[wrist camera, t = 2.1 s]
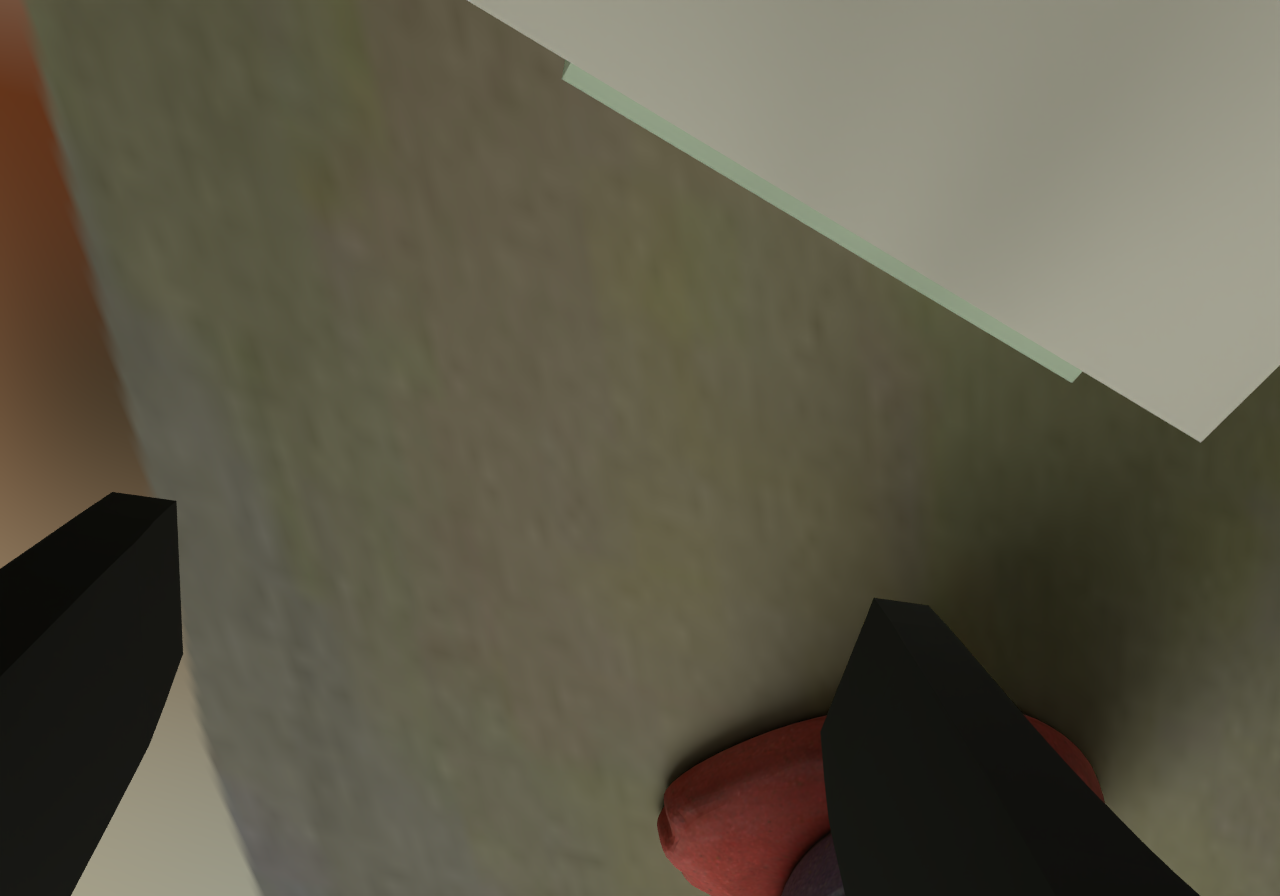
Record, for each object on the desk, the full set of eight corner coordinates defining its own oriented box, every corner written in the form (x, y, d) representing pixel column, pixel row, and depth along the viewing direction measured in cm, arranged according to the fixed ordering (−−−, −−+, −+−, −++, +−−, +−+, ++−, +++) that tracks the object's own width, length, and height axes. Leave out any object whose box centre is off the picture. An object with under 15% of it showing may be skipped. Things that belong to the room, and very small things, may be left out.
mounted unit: (1352, -10, 17) (1669, 83, 12) (1049, 335, 20) (1198, 525, 15) (649, -591, 13) (673, -819, 8) (411, -54, 16) (321, 25, 11)
